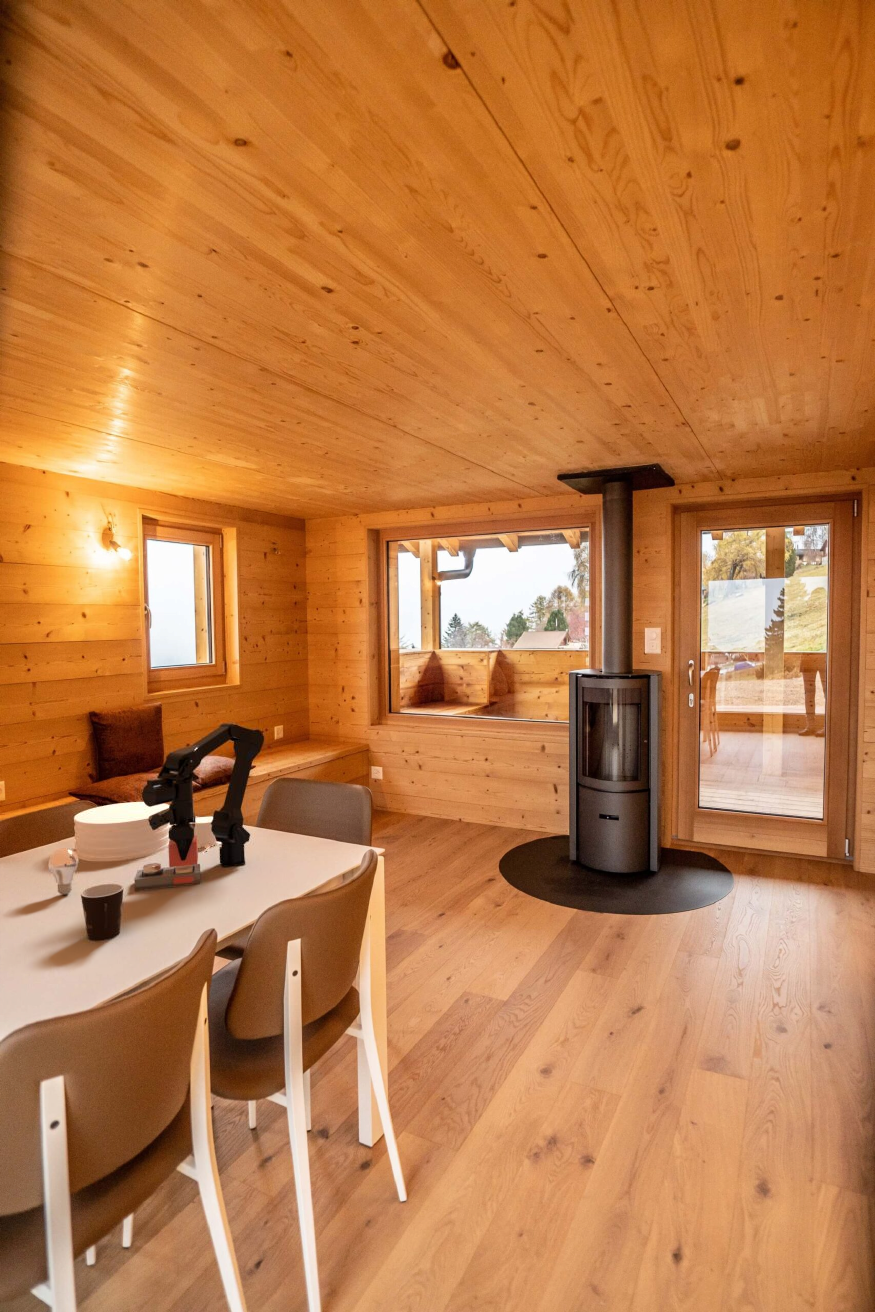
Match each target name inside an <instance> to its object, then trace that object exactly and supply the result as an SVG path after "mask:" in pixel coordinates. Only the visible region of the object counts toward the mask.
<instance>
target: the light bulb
mask: <svg viewBox="0 0 875 1312" xmlns="http://www.w3.org/2000/svg"><path fill="white" fill-rule="evenodd" d="M79 860H80V859H79V858H78V855H77V854H76V852H75V850H73V849H71V848H67V847H65V848H64V847H63V848H60V849H57V850H55V851H54V852H53V853H52V854H51V856H50V857H49V859H48V869H49V871H50V872H51V874H52V875H53V877H54V879H55V882H56V884H57V892H58V894H60V895H62V896H63V897H64V896H67V895H69V893H71V891H72V890H73V883H72V882H73V879H74V874H75V872H76V871H77V869H78V867H79V864H80V861H79Z"/></svg>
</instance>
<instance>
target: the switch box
mask: <svg viewBox="0 0 875 1312" xmlns="http://www.w3.org/2000/svg"><path fill="white" fill-rule="evenodd" d="M191 866H193V872H187V873H178V874H175V868H176V867H169V866H168V867H167V866H166V867H161V874H159V875H157V876H151V877H145V876H143V869H140V870H139V869H138V870H137V871H136V874H135V878H134V892H138V891H139V892H140V891H150V890H157V889H158V890H159V889H164V888H165V889H166V888H176V887H182V886H183V887H185V886H192V885H200V884H201V883H200V882H201V863H197V864H195V865H191ZM177 867H179V866H177Z"/></svg>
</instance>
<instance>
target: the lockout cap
mask: <svg viewBox="0 0 875 1312" xmlns="http://www.w3.org/2000/svg"><path fill="white" fill-rule="evenodd" d="M198 859H199V850H198V846H197V835H194V838H193V841H192V843H191V846H190V849H189V851H188V854H187V857H186V860H183V861H181V858H180V855H179V851H178V847H177V844H176V843H175V842H174V841H173V840H169V847H168V867H177V866H186V865H195V864H198V861H199V860H198Z"/></svg>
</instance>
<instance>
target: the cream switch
mask: <svg viewBox="0 0 875 1312" xmlns="http://www.w3.org/2000/svg"><path fill="white" fill-rule="evenodd" d="M187 872H193V866H191V865H186V866H179V867H176V868H175V874H178V873H187Z"/></svg>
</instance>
